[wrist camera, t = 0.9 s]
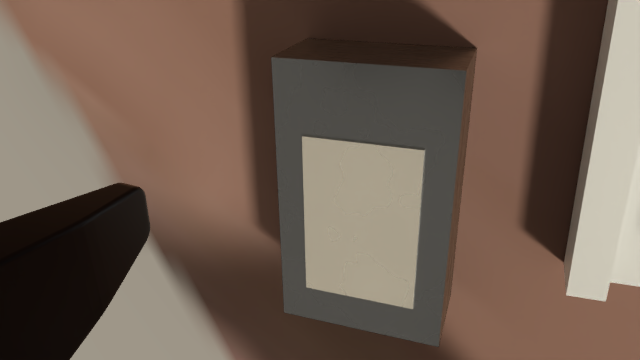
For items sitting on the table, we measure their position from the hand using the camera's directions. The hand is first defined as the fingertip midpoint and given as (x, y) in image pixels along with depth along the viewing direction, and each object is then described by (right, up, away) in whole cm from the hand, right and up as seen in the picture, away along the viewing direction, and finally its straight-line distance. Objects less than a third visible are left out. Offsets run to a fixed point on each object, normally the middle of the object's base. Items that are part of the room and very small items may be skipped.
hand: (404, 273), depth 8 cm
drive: (+1, +2, +13) cm, 13 cm away
